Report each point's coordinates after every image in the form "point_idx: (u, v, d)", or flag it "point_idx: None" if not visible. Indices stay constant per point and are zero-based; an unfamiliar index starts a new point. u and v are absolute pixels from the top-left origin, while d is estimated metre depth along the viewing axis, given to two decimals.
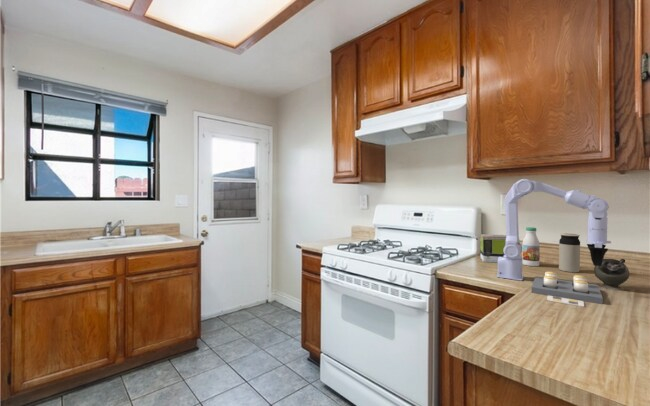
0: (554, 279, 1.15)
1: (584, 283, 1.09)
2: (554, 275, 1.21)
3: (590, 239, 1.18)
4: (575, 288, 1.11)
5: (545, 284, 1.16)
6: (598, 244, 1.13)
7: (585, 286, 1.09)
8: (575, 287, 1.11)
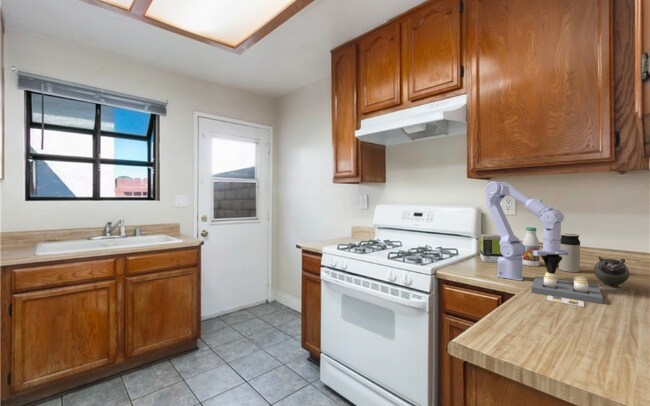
0: (554, 279, 1.15)
1: (584, 283, 1.09)
2: (554, 276, 1.21)
3: (543, 248, 1.25)
4: (575, 288, 1.11)
5: (545, 284, 1.16)
6: (535, 252, 1.22)
7: (585, 286, 1.09)
8: (575, 287, 1.11)
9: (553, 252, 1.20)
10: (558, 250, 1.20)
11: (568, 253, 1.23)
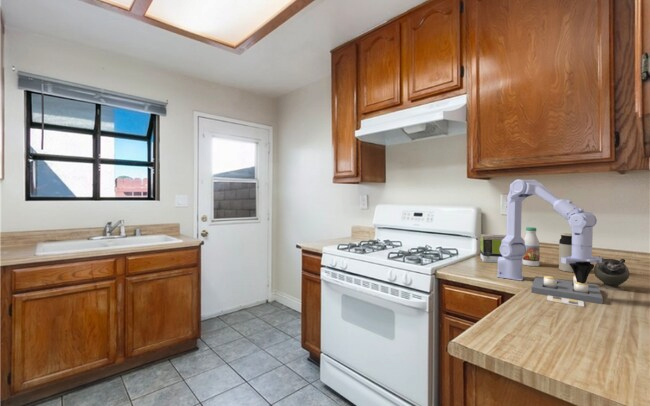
0: (554, 279, 1.15)
1: (584, 284, 1.09)
2: None
3: None
4: (575, 289, 1.11)
5: (545, 284, 1.16)
6: (563, 259, 1.10)
7: (585, 287, 1.09)
8: (575, 288, 1.11)
9: (584, 259, 1.08)
10: (590, 257, 1.08)
11: (600, 260, 1.10)
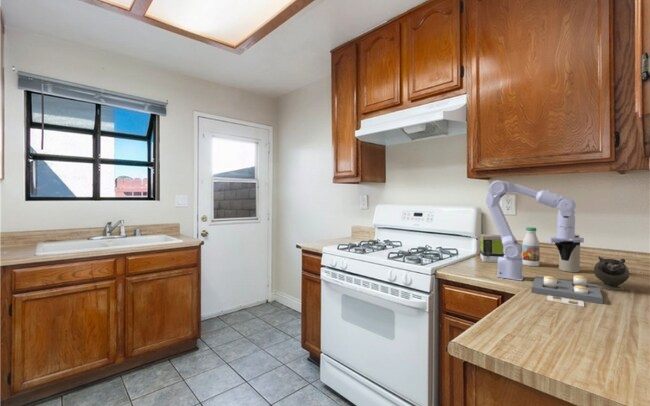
0: (554, 279, 1.15)
1: (584, 289, 1.09)
2: None
3: None
4: None
5: (545, 284, 1.16)
6: (549, 239, 1.24)
7: (585, 291, 1.09)
8: None
9: (567, 239, 1.22)
10: (572, 237, 1.22)
11: (582, 240, 1.24)
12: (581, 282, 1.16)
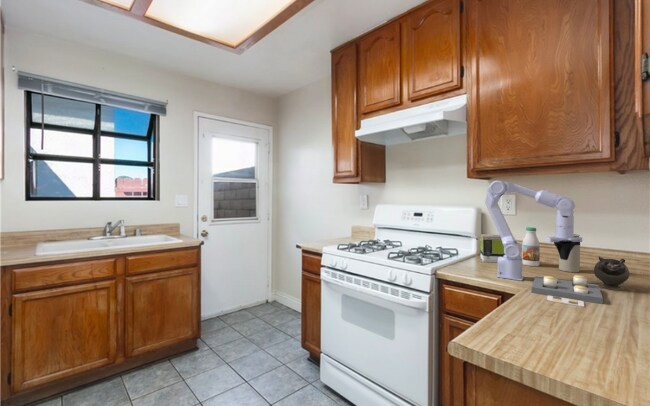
0: (554, 279, 1.15)
1: (584, 289, 1.09)
2: None
3: None
4: None
5: (545, 284, 1.16)
6: (548, 239, 1.25)
7: (585, 291, 1.09)
8: None
9: (566, 238, 1.23)
10: (571, 236, 1.23)
11: (581, 240, 1.25)
12: (581, 282, 1.16)
